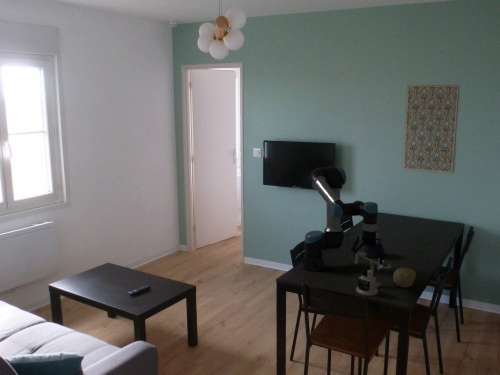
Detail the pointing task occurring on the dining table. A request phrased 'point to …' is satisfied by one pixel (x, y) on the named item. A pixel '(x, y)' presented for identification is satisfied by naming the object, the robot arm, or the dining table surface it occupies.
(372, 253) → the canister
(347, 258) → the dining table surface
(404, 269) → the olive brown dome
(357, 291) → the dish
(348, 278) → the dining table surface
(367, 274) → the grey piece
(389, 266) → the balance
